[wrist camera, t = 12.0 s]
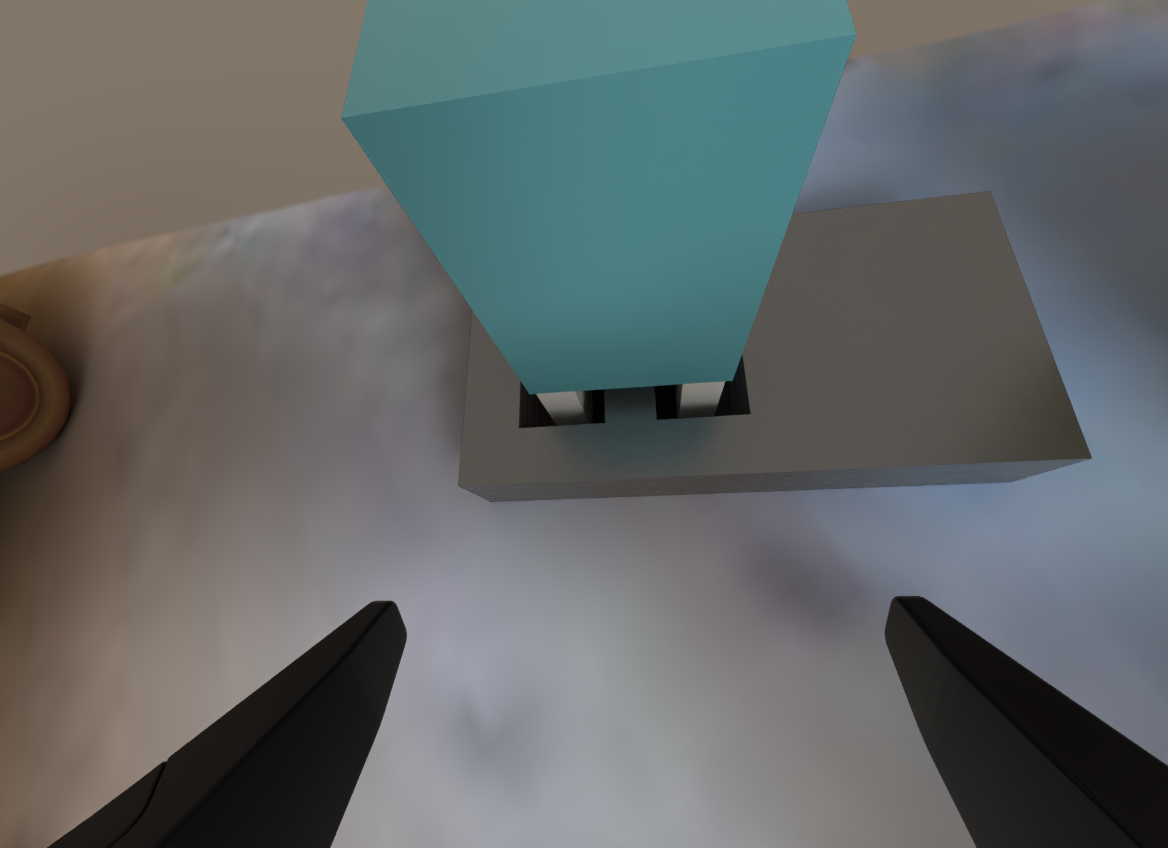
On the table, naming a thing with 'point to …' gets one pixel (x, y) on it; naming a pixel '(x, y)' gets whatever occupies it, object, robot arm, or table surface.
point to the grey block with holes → (820, 378)
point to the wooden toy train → (28, 392)
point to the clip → (601, 171)
